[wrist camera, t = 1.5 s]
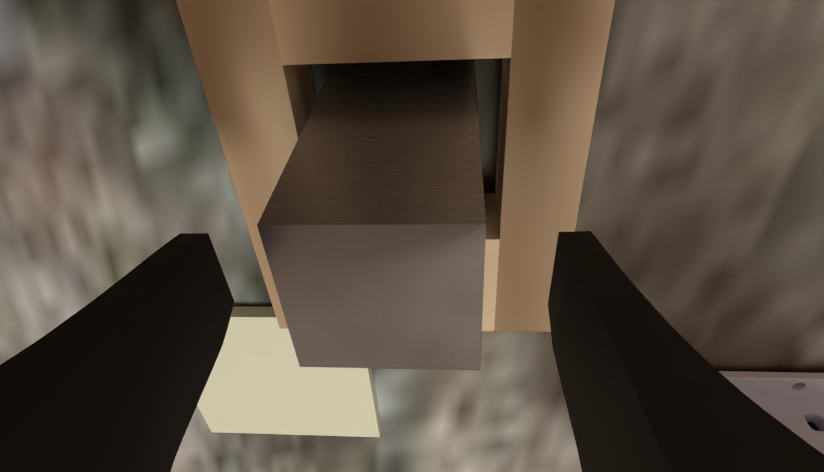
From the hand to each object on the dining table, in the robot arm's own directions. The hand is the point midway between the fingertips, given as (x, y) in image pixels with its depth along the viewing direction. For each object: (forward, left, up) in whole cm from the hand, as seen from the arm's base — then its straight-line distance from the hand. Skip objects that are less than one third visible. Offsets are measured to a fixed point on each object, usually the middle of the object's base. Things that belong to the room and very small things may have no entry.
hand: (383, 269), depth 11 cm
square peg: (0, 0, -7) cm, 7 cm away
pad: (+7, +13, -7) cm, 16 cm away
